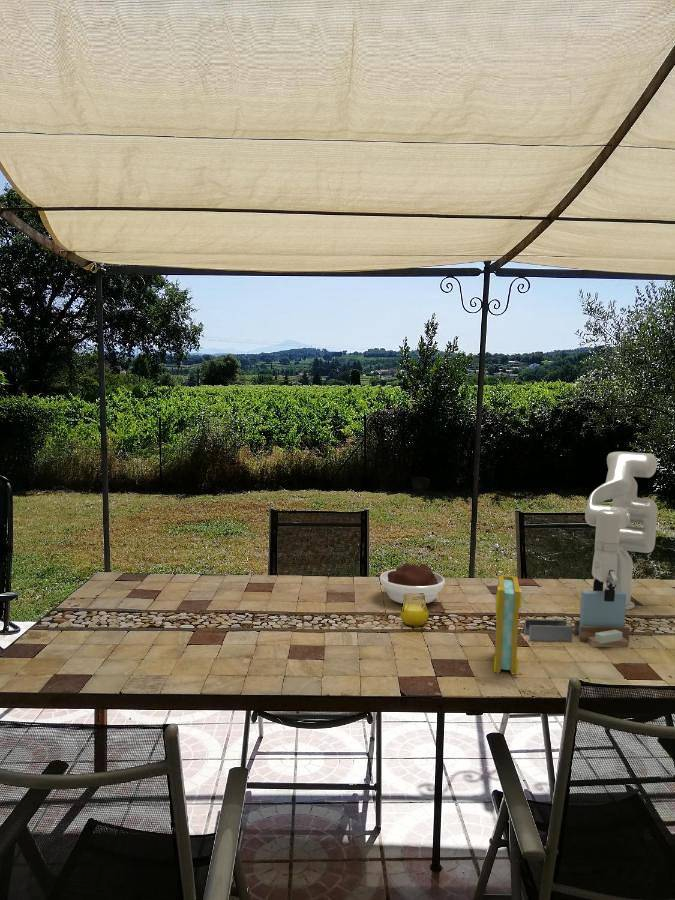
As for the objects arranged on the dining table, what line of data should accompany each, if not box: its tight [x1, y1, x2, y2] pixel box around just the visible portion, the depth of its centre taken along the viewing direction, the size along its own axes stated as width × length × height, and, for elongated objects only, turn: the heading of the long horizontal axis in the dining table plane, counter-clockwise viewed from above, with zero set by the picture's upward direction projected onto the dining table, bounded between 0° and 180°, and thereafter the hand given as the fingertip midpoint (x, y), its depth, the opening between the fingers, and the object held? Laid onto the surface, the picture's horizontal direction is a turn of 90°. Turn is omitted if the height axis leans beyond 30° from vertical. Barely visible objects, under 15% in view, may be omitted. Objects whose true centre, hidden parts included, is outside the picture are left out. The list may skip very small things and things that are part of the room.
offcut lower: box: [587, 637, 629, 648], centre depth 235 cm, size 4×12×2 cm, turn 94°
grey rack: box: [523, 618, 574, 643], centre depth 240 cm, size 7×14×5 cm, turn 91°
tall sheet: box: [578, 590, 626, 638], centre depth 240 cm, size 3×14×16 cm, turn 91°
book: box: [493, 574, 522, 675], centre depth 217 cm, size 17×7×25 cm, turn 168°
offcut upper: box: [595, 630, 622, 643], centre depth 234 cm, size 3×9×2 cm, turn 116°
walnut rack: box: [573, 619, 631, 644], centre depth 241 cm, size 7×16×5 cm, turn 91°
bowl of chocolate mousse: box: [379, 562, 446, 604], centre depth 275 cm, size 25×25×15 cm
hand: (603, 596), depth 239 cm, fingers open, 9 cm apart
